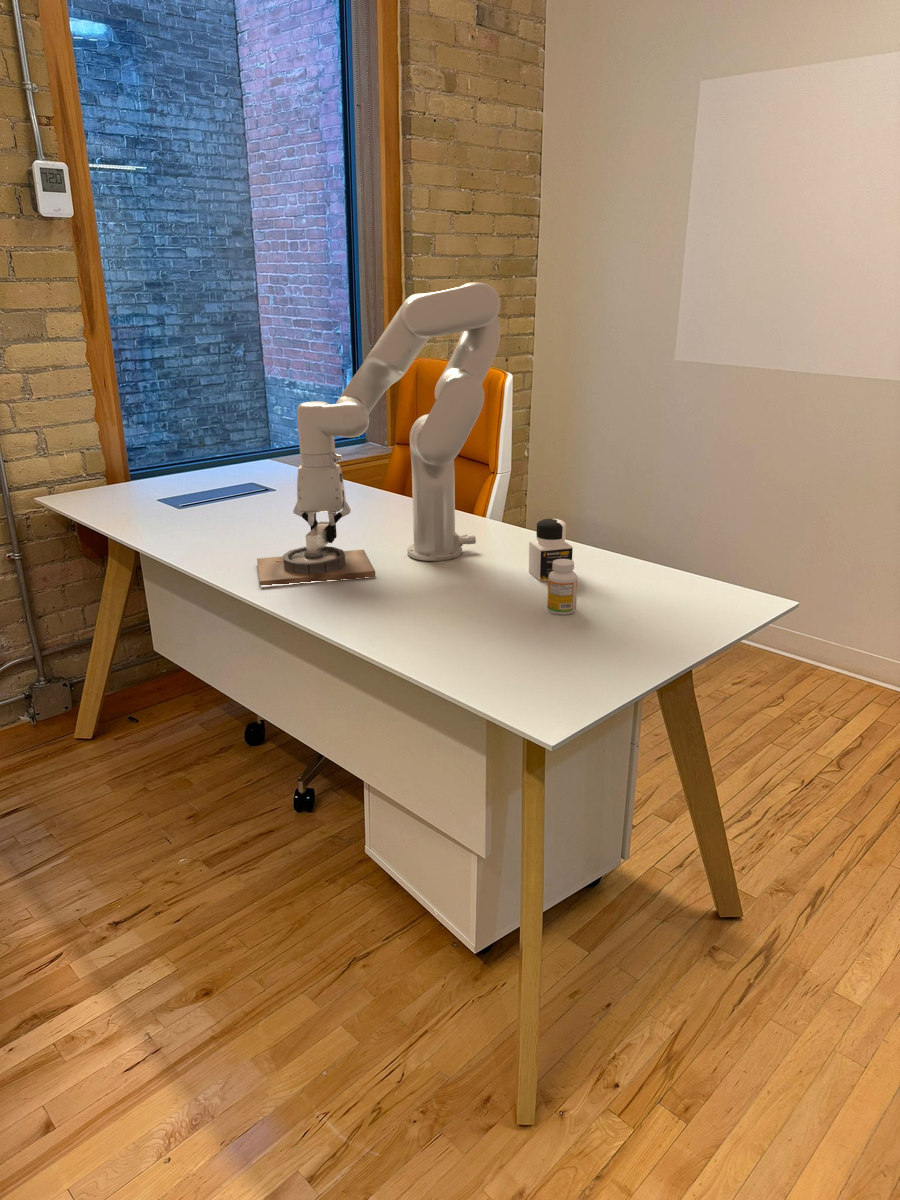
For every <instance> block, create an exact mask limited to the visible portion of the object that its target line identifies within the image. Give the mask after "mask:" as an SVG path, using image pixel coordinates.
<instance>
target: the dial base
mask: <svg viewBox="0 0 900 1200" xmlns="http://www.w3.org/2000/svg"><path fill="white" fill-rule="evenodd" d="M322 550H328V551H332V552H335V553H336V554H337V557H336V558H335V559H332V560H328V561H324V562H315V563H303V562H295V561H293V560H291V556H292V555H294V554H296V553H299V552H302V551H307V547H306V546H303V547H298V548H294V549H291V550H288V551H287V552H286V553H284V554H283V555H282V556H270V557H260V558H258V557H257V558H256V561H257V563H256V564H257V571H259V572H258V579H260V580H259V585H272V584H289V583H300V582H311V581H327V580H341V579H342V580H343V579H354V580H357V579H356V578H364V579H366V578H365V577H375V578H376V570H375V567H374V566H373V564H372V563H371V561H370V558H369V557H368V555H367V552H366V551H365V549H354V550H343V549H340V548H337V547H336V546H329V545H328V546H327V545H326V546H325V547H324V548H323V549H322ZM343 581H344V580H343Z"/></svg>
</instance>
